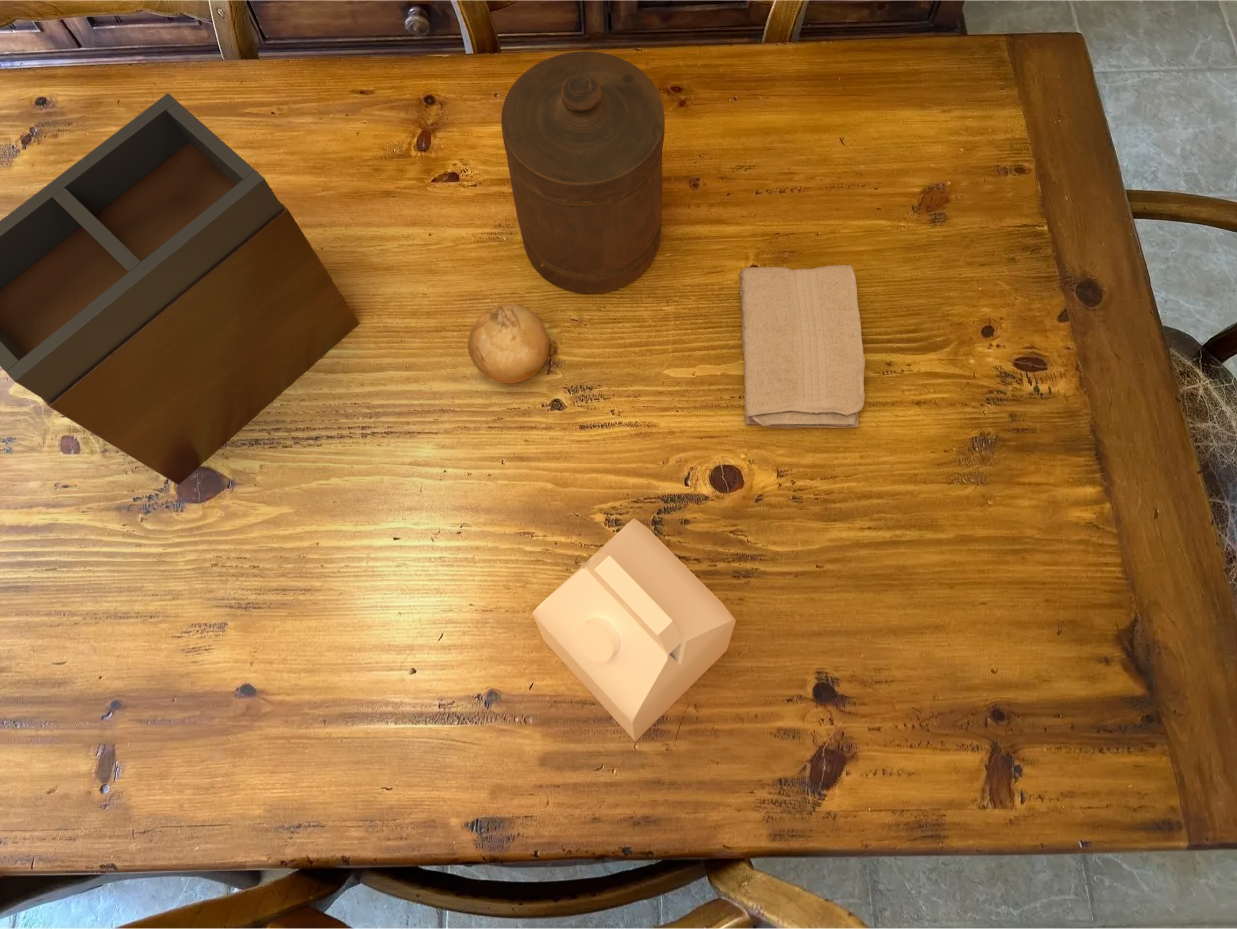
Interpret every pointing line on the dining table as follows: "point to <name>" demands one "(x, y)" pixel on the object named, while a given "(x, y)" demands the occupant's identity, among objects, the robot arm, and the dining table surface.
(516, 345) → the onion
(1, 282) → the pad socket
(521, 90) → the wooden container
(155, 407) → the socket stand
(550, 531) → the dining table surface
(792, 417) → the washcloth
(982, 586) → the dining table surface
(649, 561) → the milk
